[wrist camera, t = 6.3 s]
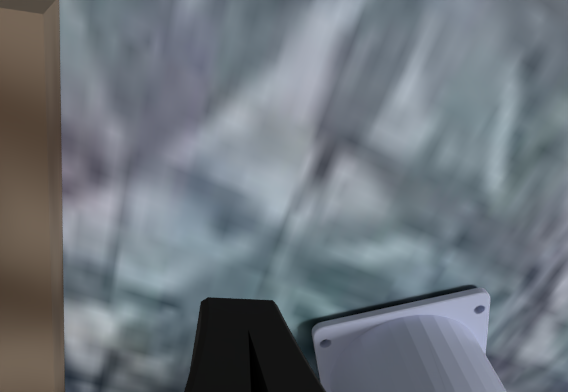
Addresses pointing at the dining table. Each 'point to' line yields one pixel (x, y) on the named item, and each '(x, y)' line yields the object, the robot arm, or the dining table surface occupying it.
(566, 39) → the dining table surface
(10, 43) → the button panel
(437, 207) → the dining table surface
